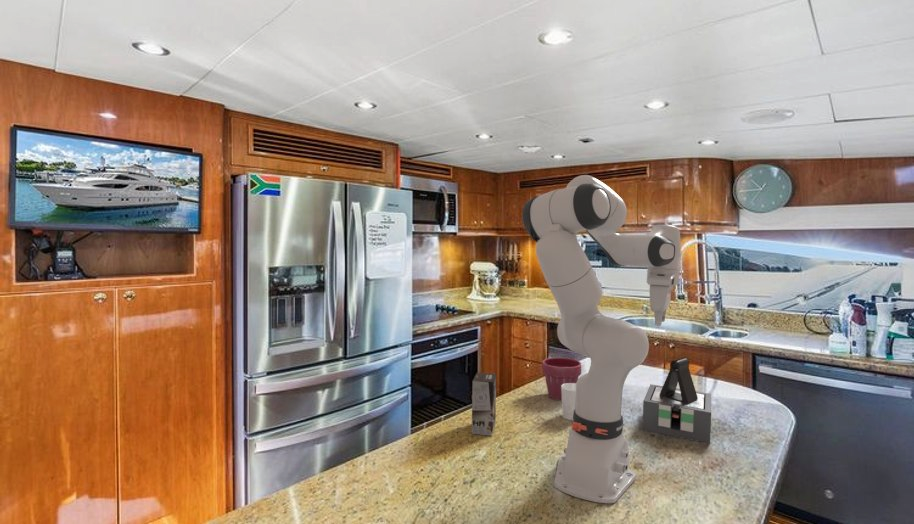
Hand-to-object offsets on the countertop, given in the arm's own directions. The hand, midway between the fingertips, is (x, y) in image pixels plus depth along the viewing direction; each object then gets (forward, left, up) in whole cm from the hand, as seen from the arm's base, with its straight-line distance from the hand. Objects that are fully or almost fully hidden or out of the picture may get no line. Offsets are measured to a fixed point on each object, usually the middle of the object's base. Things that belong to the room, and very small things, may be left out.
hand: (659, 323), depth 138 cm
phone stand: (+5, -6, -24) cm, 25 cm away
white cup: (-5, +24, -33) cm, 41 cm away
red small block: (-4, -6, -27) cm, 27 cm away
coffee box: (-28, +45, -33) cm, 63 cm away
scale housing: (+5, -6, -33) cm, 33 cm away
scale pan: (+3, -6, -25) cm, 25 cm away
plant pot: (+12, +33, -33) cm, 48 cm away
